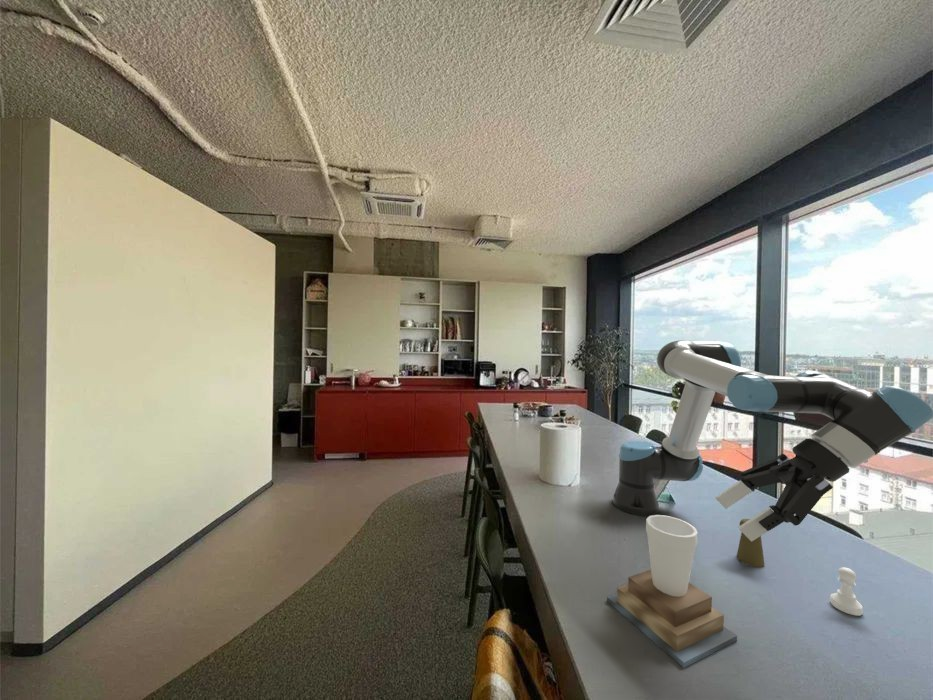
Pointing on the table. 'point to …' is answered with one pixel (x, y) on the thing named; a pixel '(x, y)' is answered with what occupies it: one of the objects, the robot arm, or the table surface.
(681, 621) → the stepped wooden pedestal
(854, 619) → the table surface
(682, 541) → the foam cup
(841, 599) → the chess pawn
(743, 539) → the cork
